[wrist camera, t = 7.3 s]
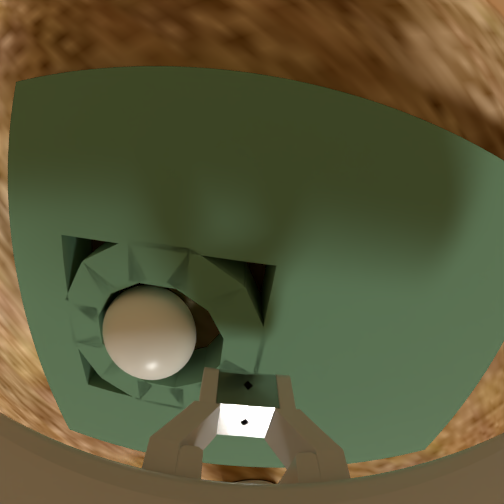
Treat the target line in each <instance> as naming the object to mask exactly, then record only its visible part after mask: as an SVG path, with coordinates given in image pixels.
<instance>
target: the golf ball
mask: <svg viewBox="0 0 504 504" xmlns="http://www.w3.org/2000/svg"><path fill="white" fill-rule="evenodd" d="M103 340H104V344H105V347H106V350H107V352H108V354H109V356H110V357H111V359H112V360H113V361H114V363H115V364H116V365H117V366H118V367H119V368H120V369H122V370H123V371H124V372H126V373H128V374H130V375H131V376H134V377H137V378H140V379H145V380H159V379H163V378H166V377H169V376H171V375H173V374H175V373H177V372H178V371H179V370H180V369H182V368H183V367H184V366H185V364H186V363H187V362H188V361H189V359H190V357H191V355H192V353H193V351H194V348H195V344H196V326H195V322H194V319H193V316H192V314H191V312H190V310H189V308H188V307H187V305H186V304H185V303H184V302H183V301H182V300H181V299H180V298H179V297H178V296H177V295H176V294H174V293H173V292H171V291H169V290H167V289H165V288H162V287H158V286H154V285H141V286H136V287H133V288H130V289H128V290H126V291H124V292H122V293H121V294H120V295H118V296H117V297H116V298H115V299H114V300H113V301H112V303H111V304H110V306H109V307H108V309H107V311H106V314H105V317H104V321H103Z"/></svg>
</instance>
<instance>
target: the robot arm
mask: <svg viewBox="0 0 504 504" xmlns="http://www.w3.org/2000/svg"><path fill="white" fill-rule="evenodd" d="M216 434H220V435H233V436H246V437H258V438H265V441H266V442H267V443H268V445H269V446H270V447H271V449H272V450H273V452H274V453H275V454H276V456H277V457H278V458H279V460H280V461H281V462H282V464H283V465H284V466H285V467H286V469H287V471H286V472H285V474H284V475H283V477H282V478H281V480H280V482H279V483H278V484H252V483H233V482H221V481H211V480H202V479H201V471H202V459H203V450H204V449H205V448H206V447H207V446H208V444H209V443H210V442H211V441H212V440H213V439H214V438H215V436H216ZM0 504H504V433H502V434H500V435H498V436H496V437H493V438H491V439H489V440H487V441H484V442H482V443H480V444H477V445H475V446H472V447H470V448H467V449H465V450H462V451H459V452H457V453H454V454H451V455H448V456H445V457H442V458H439V459H436V460H433V461H429V462H426V463H423V464H419V465H415V466H412V467H408V468H404V469H399V470H395V471H391V472H386V473H381V474H376V475H370V476H364V477H358V478H350V475H349V471H348V467H347V463H346V459H345V455H344V451H343V449H342V448H341V447H340V446H339V445H337V444H336V443H335V442H334V441H333V440H332V439H331V438H330V437H329V436H328V435H327V434H325V433H324V432H323V431H322V430H321V429H320V428H319V427H318V426H317V425H316V424H315V423H314V422H313V421H312V420H311V419H310V418H309V417H308V416H306V415H305V414H304V413H303V412H302V411H301V410H300V409H296V406H295V400H294V394H293V389H292V383H291V377H290V376H289V375H276V374H275V375H274V374H260V373H248V372H239V371H231V370H224V369H215V368H209V367H205V368H204V371H203V377H202V384H201V390H200V397H199V401H193V402H192V403H191V404H190V405H189V406H188V407H186V408H185V409H184V410H183V411H182V412H180V413H179V414H178V415H177V416H175V417H174V418H173V419H172V420H171V421H169V422H168V423H167V424H166V425H164V426H163V427H162V428H161V429H159V430H158V431H157V432H156V433H154V434H153V435H152V436H150V439H149V443H148V446H147V450H146V454H145V458H144V462H143V466H142V468H137V467H133V466H130V465H126V464H122V463H119V462H115V461H112V460H108V459H105V458H102V457H99V456H96V455H93V454H90V453H87V452H84V451H82V450H79V449H76V448H74V447H71V446H68V445H66V444H63V443H61V442H59V441H56V440H54V439H52V438H49V437H47V436H45V435H43V434H40V433H38V432H36V431H34V430H32V429H30V428H28V427H26V426H24V425H22V424H20V423H18V422H16V421H15V420H13V419H11V418H9V417H7V416H6V415H4V414H2V413H0Z"/></svg>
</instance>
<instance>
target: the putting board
mask: <svg viewBox="0 0 504 504" xmlns="http://www.w3.org/2000/svg"><path fill="white" fill-rule="evenodd" d="M8 200H9V217H10V228H11V238H12V246H13V253H14V260H15V266H16V272H17V277H18V282H19V287H20V292H21V297H22V301H23V305H24V309H25V313H26V317H27V321H28V324H29V328H30V331H31V335H32V338H33V341H34V344H35V348H36V351H37V354H38V357H39V359H40V362H41V365H42V368H43V370H44V373H45V376H46V378H47V381H48V383H49V386H50V388H51V391H52V393H53V395H54V398H55V400H56V402H57V404H58V407H59V409H60V411H61V413H62V415H63V417H64V419H65V421H66V423H67V425H68V427H69V429H70V430H73V431H76V432H78V433H81V434H84V435H87V436H90V437H93V438H96V439H99V440H102V441H105V442H109V443H112V444H115V445H119V446H123V447H126V448H130V449H134V450H138V451H142V452H146V450H147V446H148V443H149V439H150V436H152V435H153V434H154V433H156V432H157V431H158V430H159V429H161V428H162V427H163V426H164V425H166V424H167V423H168V422H169V421H171V420H172V419H173V418H174V417H175V416H177V415H178V414H179V413H180V412H182V411H183V410H184V409H185V408H186V407H188V406H189V405H190V404H191V403H192V402H193V401H199V397H200V390H201V384H202V377H203V371H204V368H205V367H209V368H215V369H224V370H231V371H239V372H248V373H260V374H274V375H275V374H276V375H289V376H290V377H291V383H292V389H293V394H294V400H295V406H296V409H300V410H301V411H302V412H303V413H304V414H305V415H306V416H308V417H309V418H310V419H311V420H312V421H313V422H314V423H315V424H316V425H317V426H318V427H319V428H320V429H321V430H322V431H323V432H324V433H325V434H327V435H328V436H329V437H330V438H331V439H332V440H333V441H334V442H335V443H336V444H337V445H339V446H340V447H341V448H342V449H343V451H344V455H345V459H346V463H347V464H349V463H357V462H365V461H371V460H378V459H383V458H389V457H394V456H399V455H404V454H408V453H412V452H417V451H421V450H425V448H426V447H427V446H428V445H429V444H430V443H431V442H432V441H433V440H434V439H435V438H436V436H437V435H438V434H439V433H440V432H441V431H442V430H443V428H444V427H445V426H446V425H447V424H448V422H449V421H450V420H451V419H452V418H453V416H454V415H455V414H456V412H457V411H458V410H459V409H460V407H461V406H462V405H463V403H464V402H465V401H466V399H467V398H468V397H469V395H470V394H471V392H472V391H473V390H474V388H475V387H476V385H477V384H478V382H479V381H480V379H481V378H482V376H483V375H484V373H485V372H486V370H487V369H488V367H489V365H490V364H491V362H492V360H493V359H494V357H495V355H496V354H497V352H498V350H499V349H500V347H501V345H502V343H503V341H504V161H503V160H502V159H500V158H498V157H497V156H495V155H493V154H491V153H490V152H488V151H486V150H484V149H483V148H481V147H479V146H477V145H475V144H473V143H471V142H469V141H468V140H466V139H464V138H462V137H460V136H458V135H456V134H453V133H451V132H449V131H447V130H445V129H443V128H441V127H438V126H436V125H434V124H432V123H429V122H427V121H425V120H422V119H420V118H417V117H415V116H412V115H410V114H407V113H405V112H402V111H399V110H397V109H394V108H391V107H388V106H386V105H383V104H380V103H377V102H374V101H371V100H368V99H364V98H361V97H358V96H355V95H351V94H348V93H344V92H341V91H337V90H333V89H329V88H325V87H321V86H317V85H313V84H309V83H304V82H299V81H295V80H290V79H285V78H279V77H273V76H268V75H261V74H255V73H248V72H240V71H231V70H222V69H211V68H197V67H176V66H133V67H113V68H100V69H89V70H80V71H72V72H65V73H59V74H52V75H47V76H41V77H36V78H31V79H27V80H22V81H18V82H16V86H15V92H14V99H13V106H12V114H11V123H10V134H9V150H8ZM91 239H93V240H99V241H106V242H104V243H103V244H102V245H101V246H100V247H98V248H97V249H96V250H95V251H94V252H92V247H91ZM247 262H253V263H260V264H266V269H265V274H264V279H263V285H262V290H261V294H260V292H259V290H258V287H257V285H256V283H255V280H254V278H253V276H252V273H251V271H250V269H249V267H248V264H247ZM137 283H143V284H149V285H155V286H161V287H167V288H173V289H177V290H178V291H180V292H181V293H183V294H184V295H186V296H187V297H189V298H190V299H191V300H193V301H194V302H196V303H197V304H199V305H200V306H202V307H203V308H205V309H206V310H208V311H209V313H210V315H211V317H212V319H213V321H214V322H215V324H216V326H217V328H218V330H219V332H220V334H219V335H218V336H217V337H216V338H215V339H214V340H213V341H212V342H211V343H210V345H209V346H208V347H204V348H201V349H197V350H194V351H193V353H192V355H191V357H190V359H189V361H188V362H187V363H186V364H185V366H184V367H183V368H182V369H180V370H179V371H178V372H177V373H175V374H173V375H171V376H169V377H166V378H163V379H159V380H145V379H140V378H137V377H134V376H131V375H130V374H128V373H126V372H124V371H123V370H122V369H120V368H119V367H118V366H117V365H116V364H115V363H114V361H113V360H112V359H111V357H110V356H109V354H108V352H107V350H106V347H105V344H104V340H103V321H104V317H105V314H106V311H107V309H108V307H109V306H110V304H111V303H112V301H113V300H114V299H115V298H116V297H117V296H118V295H119V290H122V289H124V288H127V287H129V286H132V285H135V284H137ZM202 462H203V463H211V464H220V465H231V466H246V467H279V468H282V467H285V466H284V465H283V464H282V462H281V461H280V460H279V458H278V457H277V456H276V454H275V453H274V452H273V450H272V449H271V447H270V446H269V445H268V443H267V442H266V441H265V438H258V437H246V436H233V435H220V434H216V436H215V438H214V439H213V440H212V441H211V442H210V443H209V444H208V446H207V447H206V448H205V449H204V450H203V459H202Z"/></svg>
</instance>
